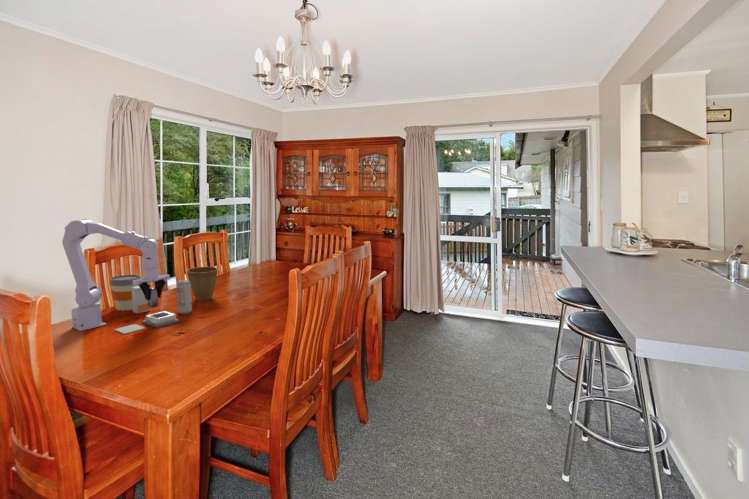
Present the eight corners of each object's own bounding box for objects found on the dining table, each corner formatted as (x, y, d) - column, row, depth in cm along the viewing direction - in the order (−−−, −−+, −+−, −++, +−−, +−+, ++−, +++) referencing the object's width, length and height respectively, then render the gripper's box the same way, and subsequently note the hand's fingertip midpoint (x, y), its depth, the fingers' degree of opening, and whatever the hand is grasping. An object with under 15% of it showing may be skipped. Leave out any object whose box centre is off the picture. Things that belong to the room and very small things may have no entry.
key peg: (151, 308, 163) (150, 289, 162) (146, 306, 165) (144, 288, 164) (160, 305, 166) (159, 287, 165) (155, 304, 168) (153, 286, 167)
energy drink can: (194, 311, 182) (193, 280, 180) (182, 315, 176) (181, 283, 174) (187, 309, 185) (185, 279, 183) (175, 312, 179) (173, 281, 177)
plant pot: (188, 296, 207) (187, 267, 205) (218, 294, 214) (217, 266, 211) (187, 304, 194) (186, 272, 192) (219, 301, 200) (218, 271, 198)
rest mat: (124, 334, 151) (124, 333, 151) (114, 330, 155) (114, 329, 155) (145, 328, 158) (145, 327, 158) (135, 324, 162) (135, 323, 162)
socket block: (156, 328, 159) (156, 320, 158) (141, 322, 165) (141, 315, 165) (179, 321, 167) (179, 314, 167) (164, 316, 174) (164, 309, 173)
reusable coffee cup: (118, 313, 177) (115, 281, 175) (107, 308, 184) (105, 277, 182) (147, 307, 187) (145, 277, 185) (136, 302, 194) (134, 273, 192)
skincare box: (136, 313, 177) (134, 288, 175) (132, 312, 179) (131, 287, 178) (150, 310, 182) (149, 286, 180) (146, 309, 184) (145, 284, 182)
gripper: (138, 271, 155) (140, 303, 157) (173, 266, 167) (174, 296, 169) (129, 269, 159) (131, 301, 161) (164, 264, 171) (165, 293, 173)
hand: (153, 298), depth 165 cm, fingers closed on key peg, 4 cm apart
